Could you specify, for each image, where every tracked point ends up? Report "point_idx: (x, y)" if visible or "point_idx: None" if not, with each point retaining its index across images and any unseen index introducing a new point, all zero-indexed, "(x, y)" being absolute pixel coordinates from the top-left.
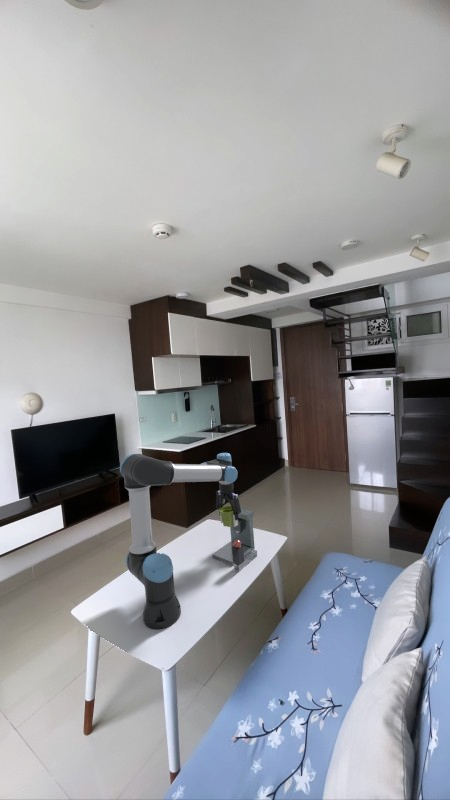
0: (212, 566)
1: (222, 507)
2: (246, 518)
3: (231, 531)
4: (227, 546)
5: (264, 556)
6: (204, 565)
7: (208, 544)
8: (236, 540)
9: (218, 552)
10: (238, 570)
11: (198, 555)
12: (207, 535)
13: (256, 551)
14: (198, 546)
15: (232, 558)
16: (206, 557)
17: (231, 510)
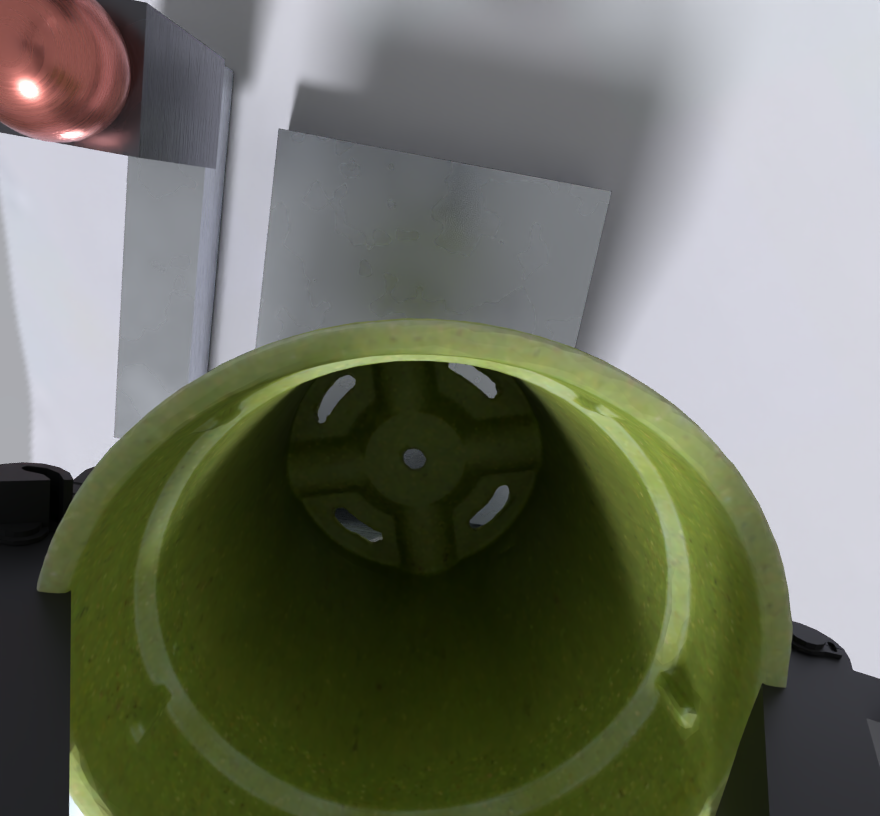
0: (509, 24)
1: (716, 760)
2: None
3: None
4: None
5: (69, 440)
6: (613, 3)
7: (777, 428)
8: (9, 33)
9: (553, 258)
10: None
11: (787, 173)
12: (873, 586)
13: (116, 425)
14: (875, 347)
15: (321, 202)
16: (672, 172)
17: (415, 788)
